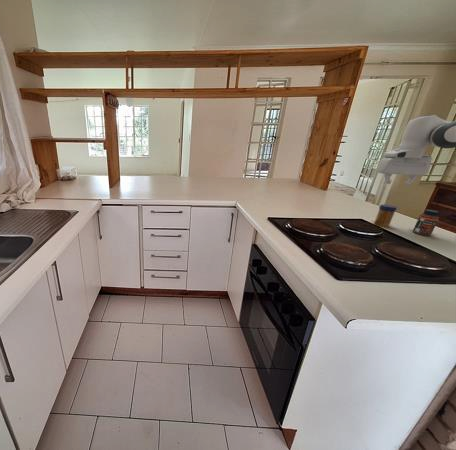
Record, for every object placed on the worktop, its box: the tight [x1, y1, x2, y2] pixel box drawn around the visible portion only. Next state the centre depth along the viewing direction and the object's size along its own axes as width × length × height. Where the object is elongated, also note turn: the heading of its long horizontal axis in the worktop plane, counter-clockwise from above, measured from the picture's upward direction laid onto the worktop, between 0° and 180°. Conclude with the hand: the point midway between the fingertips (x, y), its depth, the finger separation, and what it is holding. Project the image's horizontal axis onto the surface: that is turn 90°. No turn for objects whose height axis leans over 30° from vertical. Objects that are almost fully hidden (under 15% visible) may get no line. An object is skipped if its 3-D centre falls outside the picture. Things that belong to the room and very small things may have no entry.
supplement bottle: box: [412, 209, 440, 237], centre depth 108 cm, size 6×6×11 cm
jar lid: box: [378, 204, 398, 212], centre depth 117 cm, size 6×6×2 cm
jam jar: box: [373, 208, 396, 228], centre depth 118 cm, size 6×6×10 cm
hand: (397, 183), depth 112 cm, fingers open, 8 cm apart
